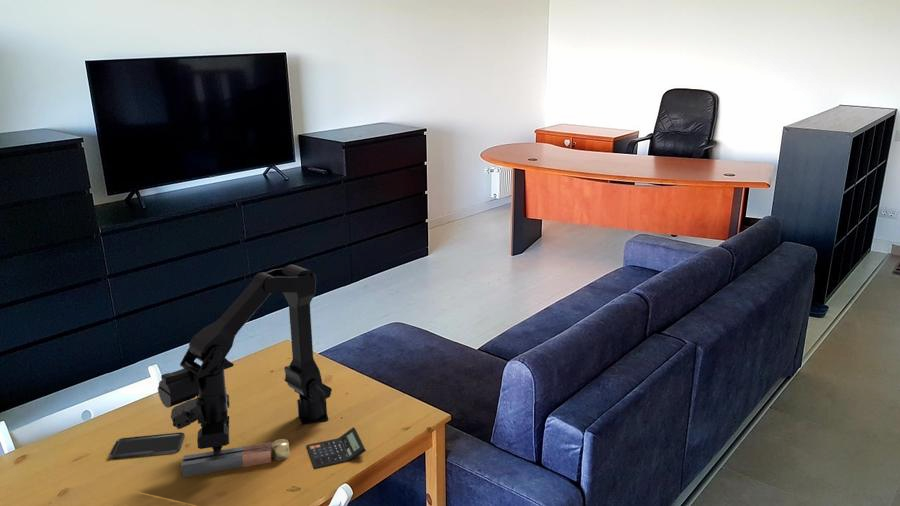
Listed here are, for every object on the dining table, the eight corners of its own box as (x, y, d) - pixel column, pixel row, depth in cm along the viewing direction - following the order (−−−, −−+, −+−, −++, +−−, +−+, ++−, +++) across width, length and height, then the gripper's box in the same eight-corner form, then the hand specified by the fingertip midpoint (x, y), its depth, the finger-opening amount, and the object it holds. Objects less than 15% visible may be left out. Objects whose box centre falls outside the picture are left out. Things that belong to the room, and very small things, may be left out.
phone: (117, 438, 156) (185, 431, 159) (118, 442, 157) (185, 435, 159) (107, 457, 149) (178, 450, 152) (108, 462, 149) (179, 454, 152)
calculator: (306, 448, 155) (306, 436, 154) (356, 437, 159) (355, 426, 158) (314, 470, 146) (313, 459, 146) (366, 459, 151) (365, 447, 150)
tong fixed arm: (271, 458, 150) (270, 447, 149) (271, 462, 149) (270, 451, 148) (182, 473, 145) (181, 461, 144) (182, 478, 143) (180, 466, 142)
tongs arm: (289, 450, 153) (288, 437, 152) (290, 459, 150) (289, 446, 149) (185, 466, 147) (183, 453, 146) (183, 475, 144) (182, 463, 143)
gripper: (174, 374, 150) (181, 435, 155) (167, 417, 133) (175, 483, 138) (227, 369, 154) (231, 428, 158) (226, 409, 137) (231, 475, 141)
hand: (217, 452), depth 149 cm, fingers closed
